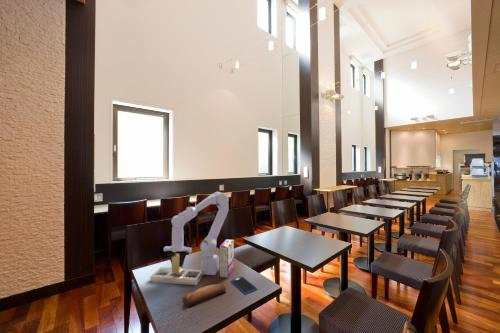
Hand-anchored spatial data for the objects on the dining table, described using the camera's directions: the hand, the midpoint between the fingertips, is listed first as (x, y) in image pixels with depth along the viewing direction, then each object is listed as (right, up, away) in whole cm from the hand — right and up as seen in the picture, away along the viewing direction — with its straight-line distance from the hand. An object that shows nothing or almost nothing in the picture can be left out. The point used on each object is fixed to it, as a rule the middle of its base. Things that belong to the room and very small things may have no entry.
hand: (177, 265), depth 110 cm
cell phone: (+34, -7, -6) cm, 36 cm away
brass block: (0, -3, 0) cm, 3 cm away
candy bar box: (+25, -7, +6) cm, 27 cm away
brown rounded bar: (+17, -7, -15) cm, 24 cm away
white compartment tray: (0, -7, 0) cm, 7 cm away
